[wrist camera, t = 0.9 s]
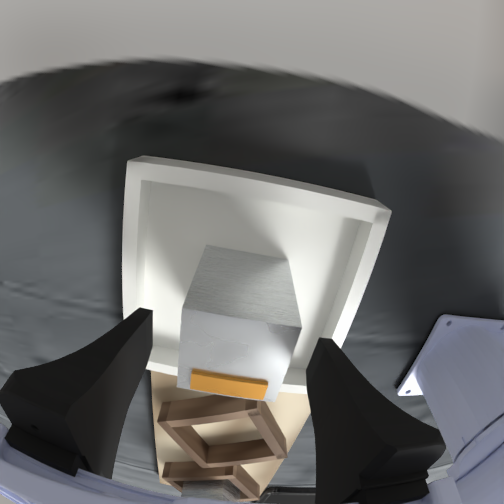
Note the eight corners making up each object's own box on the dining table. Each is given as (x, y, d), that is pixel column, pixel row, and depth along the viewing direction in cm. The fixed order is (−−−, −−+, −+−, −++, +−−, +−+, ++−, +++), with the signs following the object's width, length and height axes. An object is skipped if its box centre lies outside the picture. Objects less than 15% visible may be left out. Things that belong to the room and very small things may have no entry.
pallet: (320, 379, 21) (326, 410, 18) (259, 490, 30) (259, 510, 27) (154, 354, 20) (143, 384, 18) (161, 476, 29) (157, 496, 26)
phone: (268, 491, 28) (374, 490, 30) (268, 483, 30) (373, 483, 31) (251, 509, 31) (347, 509, 33) (251, 502, 33) (346, 503, 34)
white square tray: (376, 199, 16) (392, 210, 14) (314, 372, 21) (318, 395, 19) (143, 155, 15) (127, 160, 13) (136, 343, 20) (126, 364, 18)
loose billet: (288, 259, 17) (302, 330, 11) (270, 325, 18) (275, 405, 13) (206, 244, 16) (180, 310, 11) (197, 312, 18) (176, 390, 12)
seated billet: (224, 466, 25) (220, 519, 19) (240, 482, 27) (238, 529, 21) (185, 468, 26) (177, 517, 20) (204, 484, 27) (199, 529, 22)
